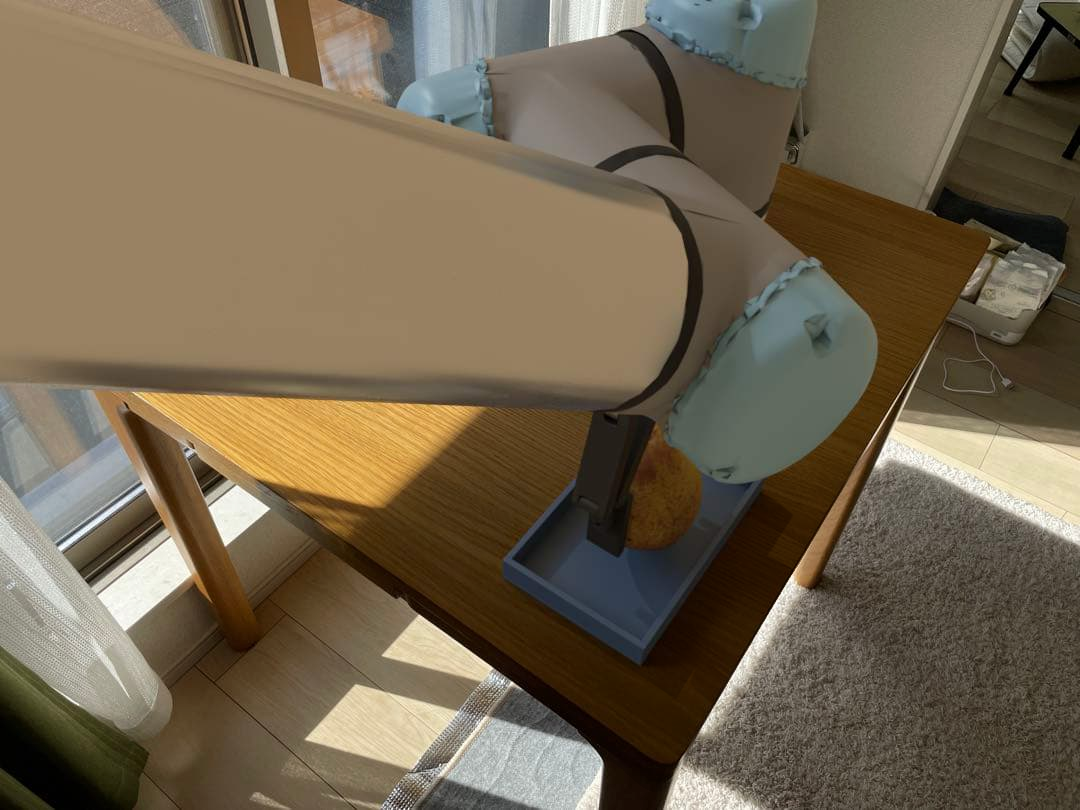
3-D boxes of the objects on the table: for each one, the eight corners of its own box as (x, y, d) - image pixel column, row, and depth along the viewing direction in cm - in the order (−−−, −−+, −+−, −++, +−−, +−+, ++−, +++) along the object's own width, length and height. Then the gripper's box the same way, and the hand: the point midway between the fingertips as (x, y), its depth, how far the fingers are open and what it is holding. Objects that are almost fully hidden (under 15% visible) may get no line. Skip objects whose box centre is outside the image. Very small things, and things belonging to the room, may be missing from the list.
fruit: (679, 467, 71) (704, 359, 63) (706, 563, 65) (739, 458, 57) (572, 475, 71) (582, 366, 62) (590, 573, 64) (604, 468, 56)
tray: (640, 666, 62) (644, 649, 60) (502, 577, 67) (502, 559, 65) (761, 490, 73) (767, 472, 71) (635, 424, 77) (638, 405, 75)
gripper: (643, 399, 42) (603, 635, 59) (826, 194, 55) (750, 436, 71) (516, 334, 45) (511, 576, 62) (717, 153, 58) (669, 394, 74)
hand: (640, 501), depth 66 cm, fingers closed on fruit, 9 cm apart
